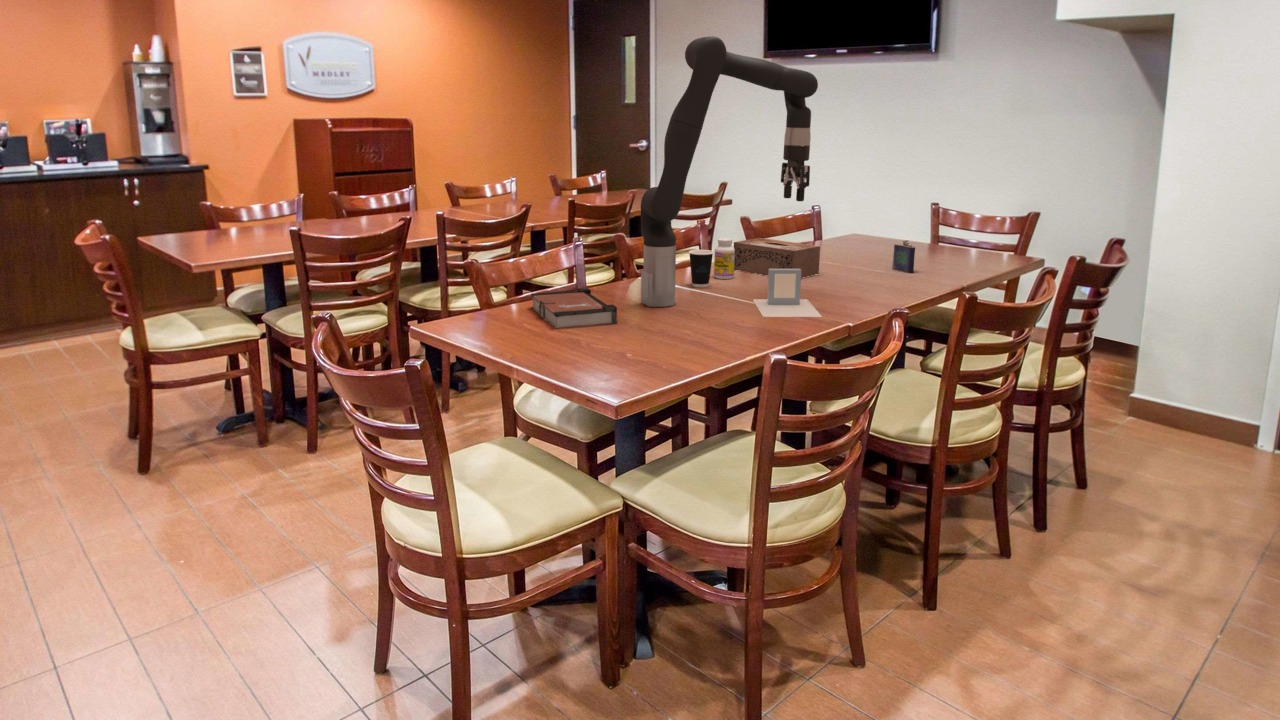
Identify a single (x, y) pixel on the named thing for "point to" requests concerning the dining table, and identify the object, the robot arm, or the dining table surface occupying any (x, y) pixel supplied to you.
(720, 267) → the supplement bottle
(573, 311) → the book
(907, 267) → the flask
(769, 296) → the tile
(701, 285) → the dixie cup
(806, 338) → the dining table surface
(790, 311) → the board
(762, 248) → the tissue box cover
